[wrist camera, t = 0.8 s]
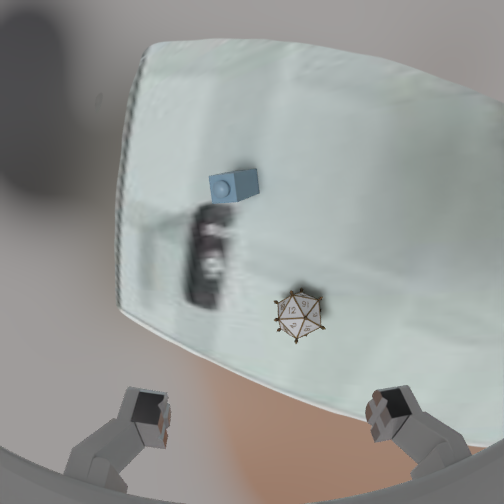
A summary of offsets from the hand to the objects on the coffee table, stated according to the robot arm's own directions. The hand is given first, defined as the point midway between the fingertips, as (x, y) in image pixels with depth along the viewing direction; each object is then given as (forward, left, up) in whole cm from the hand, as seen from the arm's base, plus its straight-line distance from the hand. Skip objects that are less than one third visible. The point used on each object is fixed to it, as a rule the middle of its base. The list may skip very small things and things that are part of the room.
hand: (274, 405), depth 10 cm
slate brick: (+11, -14, -37) cm, 41 cm away
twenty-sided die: (+17, +8, -37) cm, 42 cm away
